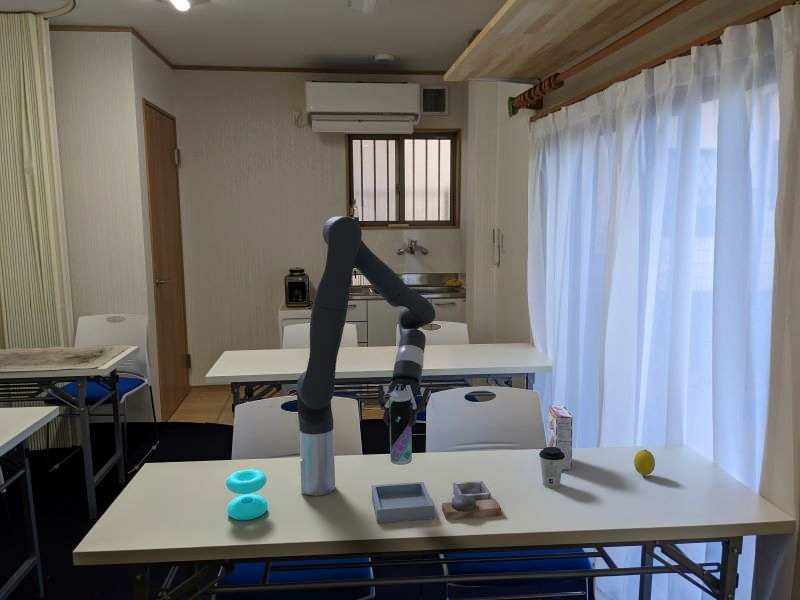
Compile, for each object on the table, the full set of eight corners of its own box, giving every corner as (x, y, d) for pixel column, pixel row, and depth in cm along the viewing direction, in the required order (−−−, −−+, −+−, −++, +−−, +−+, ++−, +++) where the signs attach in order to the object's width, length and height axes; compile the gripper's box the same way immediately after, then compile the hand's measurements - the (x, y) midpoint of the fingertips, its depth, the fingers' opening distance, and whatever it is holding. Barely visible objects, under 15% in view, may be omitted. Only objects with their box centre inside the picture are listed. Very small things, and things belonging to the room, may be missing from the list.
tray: (377, 523, 154) (377, 509, 154) (371, 497, 168) (371, 485, 167) (433, 518, 156) (433, 505, 155) (423, 494, 170) (423, 481, 169)
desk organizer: (446, 520, 155) (446, 507, 154) (435, 494, 169) (435, 482, 169) (501, 516, 157) (501, 503, 156) (485, 491, 171) (485, 478, 171)
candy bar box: (546, 455, 195) (547, 404, 193) (563, 455, 195) (564, 404, 193) (554, 470, 184) (556, 416, 182) (572, 470, 184) (573, 416, 182)
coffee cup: (554, 492, 170) (555, 457, 168) (533, 484, 175) (533, 449, 174) (569, 484, 174) (570, 450, 173) (548, 477, 180) (549, 443, 178)
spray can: (396, 466, 157) (394, 388, 154) (386, 458, 161) (385, 383, 159) (415, 462, 159) (414, 385, 156) (405, 454, 164) (404, 380, 161)
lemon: (655, 474, 180) (657, 447, 179) (652, 481, 176) (653, 454, 175) (635, 470, 183) (636, 444, 182) (631, 477, 179) (632, 450, 178)
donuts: (220, 473, 161) (258, 464, 166) (222, 510, 162) (260, 500, 167) (232, 487, 152) (272, 477, 157) (234, 526, 154) (273, 515, 159)
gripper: (379, 357, 166) (367, 416, 156) (433, 359, 162) (424, 419, 152) (385, 372, 171) (374, 429, 162) (437, 374, 168) (429, 433, 158)
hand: (398, 424), depth 157 cm, fingers closed on spray can, 5 cm apart
